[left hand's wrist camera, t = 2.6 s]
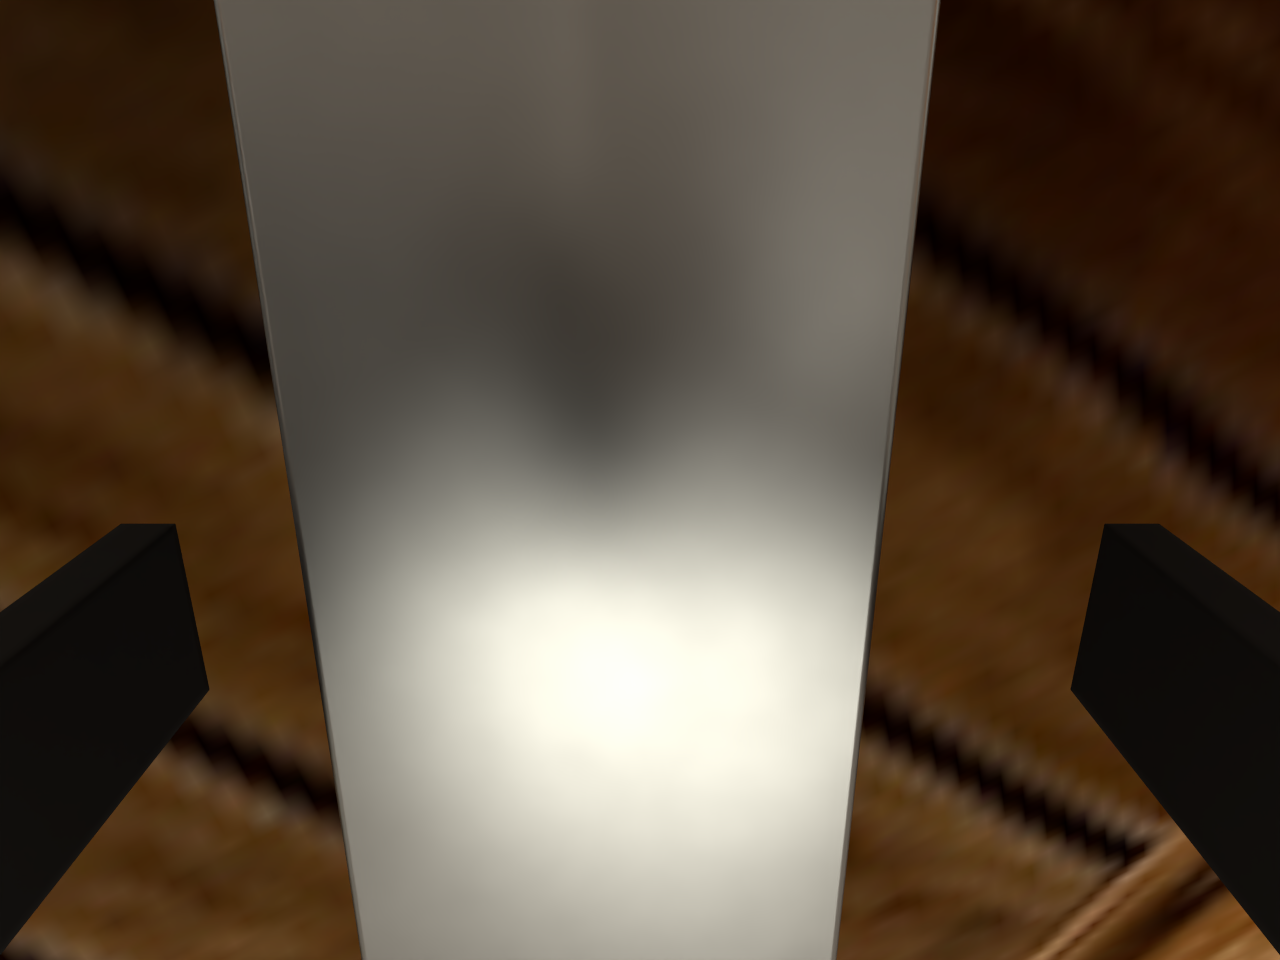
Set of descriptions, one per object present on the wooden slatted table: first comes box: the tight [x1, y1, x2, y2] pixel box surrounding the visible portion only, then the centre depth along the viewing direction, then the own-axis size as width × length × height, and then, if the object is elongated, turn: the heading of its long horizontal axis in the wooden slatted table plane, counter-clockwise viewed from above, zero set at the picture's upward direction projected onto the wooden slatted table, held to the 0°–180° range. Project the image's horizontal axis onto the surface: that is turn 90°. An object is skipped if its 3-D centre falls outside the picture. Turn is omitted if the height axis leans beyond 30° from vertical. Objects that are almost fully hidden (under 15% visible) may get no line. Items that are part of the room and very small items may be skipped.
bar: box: [214, 0, 941, 960], centre depth 10 cm, size 24×5×9 cm, turn 0°
